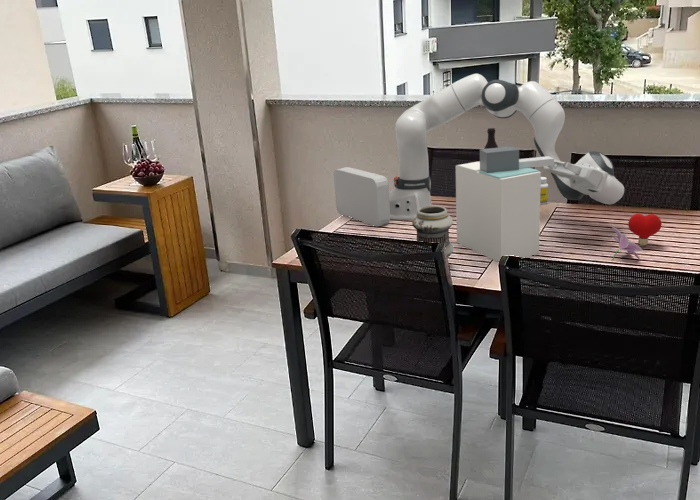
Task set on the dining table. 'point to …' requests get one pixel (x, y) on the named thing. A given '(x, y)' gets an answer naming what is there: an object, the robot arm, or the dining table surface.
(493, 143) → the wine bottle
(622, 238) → the lily
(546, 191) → the supplement bottle
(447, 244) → the apothecary jar
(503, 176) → the stand
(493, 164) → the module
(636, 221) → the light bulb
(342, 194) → the rounded white slab
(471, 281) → the dining table surface
